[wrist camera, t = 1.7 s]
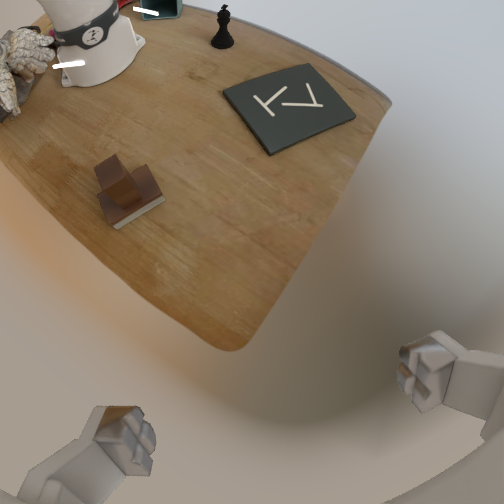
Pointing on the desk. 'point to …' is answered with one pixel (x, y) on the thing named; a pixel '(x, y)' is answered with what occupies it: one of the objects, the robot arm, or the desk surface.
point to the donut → (48, 31)
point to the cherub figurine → (21, 67)
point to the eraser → (126, 191)
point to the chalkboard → (288, 106)
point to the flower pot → (161, 8)
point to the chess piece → (223, 30)
